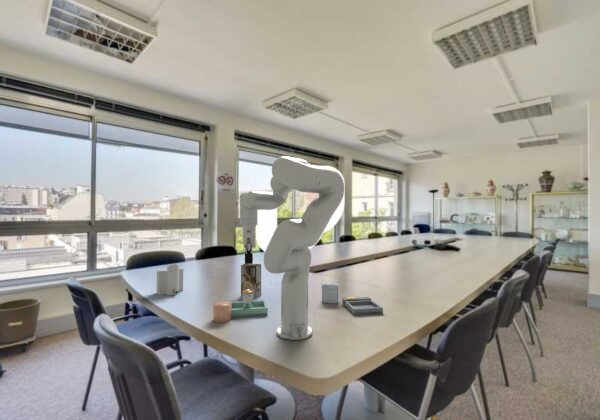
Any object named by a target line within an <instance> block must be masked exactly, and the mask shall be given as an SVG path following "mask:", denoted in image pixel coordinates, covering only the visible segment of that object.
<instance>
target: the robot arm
mask: <svg viewBox="0 0 600 420" xmlns="http://www.w3.org/2000/svg"><path fill="white" fill-rule="evenodd" d="M271 175H272V177H271V179H270V181H269V182H270V187H271V190H272V191H255V190H251V191H249V192H242V193H241V194H240V195H239V226H242V245H243V246H242V247H243V249H244V264H254V263H253V261H254V257H253V256H254V254H253V249H256V226H258V210H260V211H261V210H265V211H266V210H267V211H273V210H275V209H278V208H279V207H280V206H282V205H284V204H285V203H286V202H287V199H288V196H289V193H291V192H293V190H294V191H298V192H301V193H309V194H310V193H311V194H318V195H317V196H316V197H315V198H314V199H312V200H311V202H310V203H309V204H308V205H307V207H306V209H305V211H304V213H303V215H302V216H301V217H300V218H290V219H284V220H283V221H281V222H280V223H279V224H278V225H277V226H276V228H275V230H274V232H273V234H272V236H271V239H270V240H269V242H268V245H267V246H266V249H265V250H264V254H263V255H264V256H263V265H264V269H265V270H267V272H269V273H271V274H274V275H275V274H283V276H282V279H281V287H280V288H281V290H280V291H281V294H280V295H281V297H280V299H281V301H280V302H281V303H280V305H281V307H280V308H281V309H280V313H281V314H280V317H281V318H280V321H281V322H280V324H281V325H279V326H278V327H277V328H276V334H277V336H278V337H279V338H282V339H285V340H289V341H299V340H305V339H308V338H309V337H311V336H312V335H313V328H312V327H311V326H310V325H309V278H310V277H309V276H310V275H309V274H310V269H311V264H312V252H311V250H310V247H313V246H315V245H316V244H317V243H318V242H319V240H320V238H321V237H322V235H323V233H324V231H325V229H326V228H327V226H328V224H329V222H330V220H331V219H332V217H333V215H334V214H335V212H336V211H337V210H338V208H339V206H340V205H341V203H342V200H343V199H344V194H345V183H344V179H343V177H342V175H340V173H339V172H337V171H336V170H334V169H331V168H328V167H322V166H318V165H317V166H316V165H311V164H310V163H309V162H308V161H307V160H304V159H302V158H297V157H292V156H285V155H283V156H279V157H277V158H276V159H275V160H274V162H273V164H272V165H271Z"/></svg>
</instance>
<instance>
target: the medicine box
mask: <svg viewBox="0 0 600 420" xmlns="http://www.w3.org/2000/svg"><path fill="white" fill-rule="evenodd" d="M321 303H322V304H339V283H337V282H336V283H335V282H322V284H321Z"/></svg>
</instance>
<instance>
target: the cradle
mask: <svg viewBox="0 0 600 420" xmlns="http://www.w3.org/2000/svg"><path fill="white" fill-rule="evenodd" d="M341 300H342V306H343V307H344V308H345V309H346V310H348V311H349V313H351V314H352V315H353V316H364V315H365V316H366V315H367V316H368V315H379V314H382V315H383V314H384V307H383V306H382V305H379V304H378V303H377V302H376V301H374V300H372V298H371V297H369V296H363V297H361V296H359V297H358V296H357V297H356V296H355V297H354V296H352V297H349V296H348V297H343V298H342V299H341Z"/></svg>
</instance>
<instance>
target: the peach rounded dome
mask: <svg viewBox="0 0 600 420" xmlns="http://www.w3.org/2000/svg"><path fill="white" fill-rule="evenodd" d="M231 302H232V301H218V302H214V303H213V305H212V306H213V309H212V311H213V313H212V314H213V316H212V321H213V322H214V323H223V324H224V323H227V322H230V321H231V320H232V318H231V313H232V303H231Z"/></svg>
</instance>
